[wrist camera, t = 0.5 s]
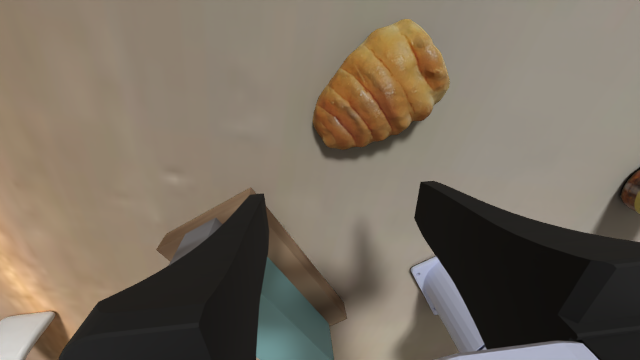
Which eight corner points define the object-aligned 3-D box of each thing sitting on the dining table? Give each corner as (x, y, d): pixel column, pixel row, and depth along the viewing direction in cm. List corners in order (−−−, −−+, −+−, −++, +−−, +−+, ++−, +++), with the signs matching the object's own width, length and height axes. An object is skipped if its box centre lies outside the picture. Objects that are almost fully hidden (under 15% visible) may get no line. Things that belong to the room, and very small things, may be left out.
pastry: (342, 162, 22) (351, 183, 19) (290, 96, 19) (290, 108, 16) (441, 90, 20) (472, 100, 17) (400, 6, 17) (427, -4, 14)
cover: (328, 323, 28) (334, 363, 25) (289, 340, 29) (289, 381, 26) (266, 255, 23) (262, 293, 19) (219, 278, 24) (207, 319, 20)
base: (343, 302, 30) (355, 360, 25) (277, 332, 31) (275, 393, 26) (250, 187, 22) (238, 235, 16) (166, 234, 23) (128, 293, 18)
